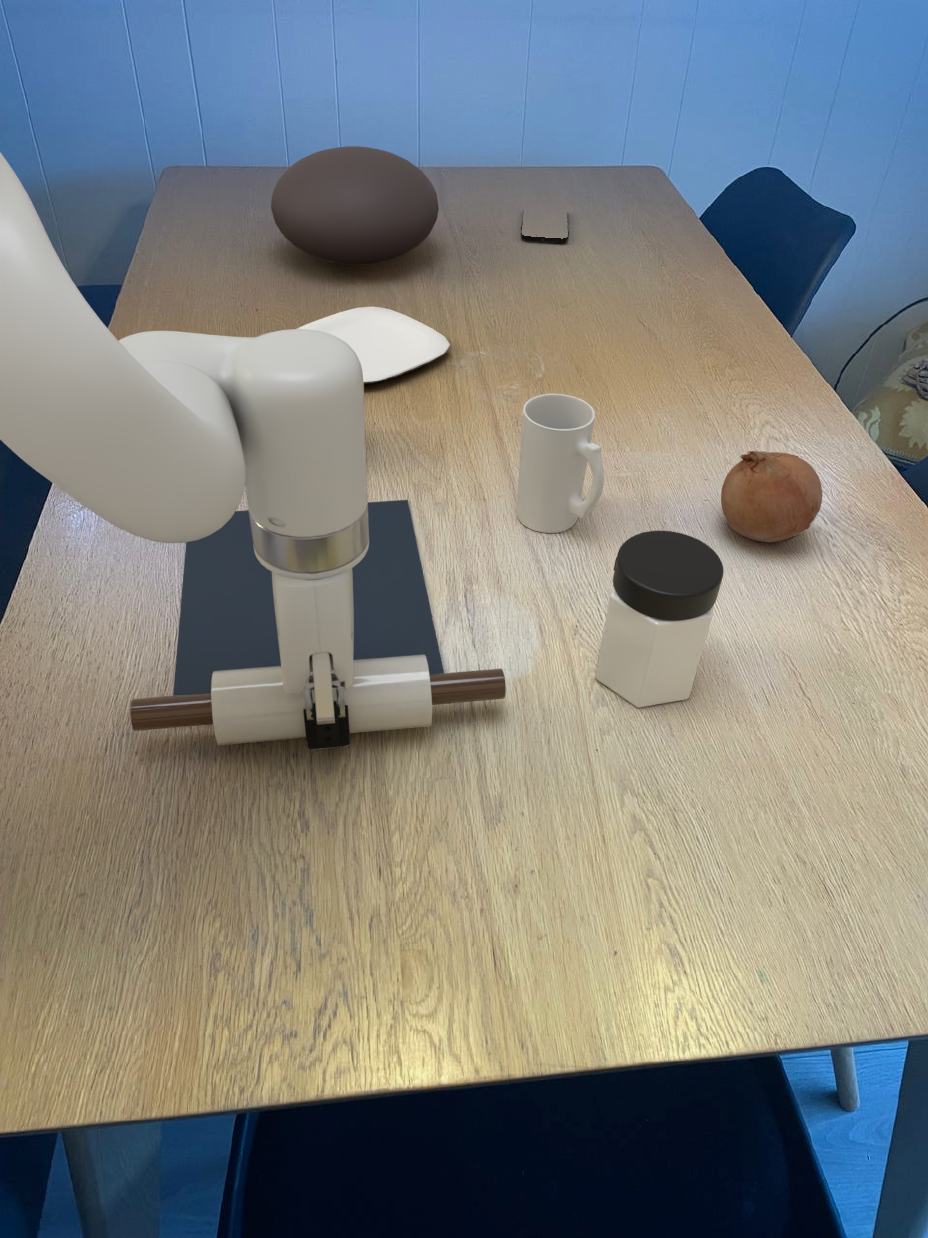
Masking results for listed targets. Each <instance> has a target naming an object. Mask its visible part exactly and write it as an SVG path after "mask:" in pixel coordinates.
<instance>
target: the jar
mask: <svg viewBox="0 0 928 1238" xmlns="http://www.w3.org/2000/svg"><path fill="white" fill-rule="evenodd" d="M724 572H725V571H724V564H723V562H722V559H721V558H720V556H719V555H718V553H717V552H716V551H715V550H714V549H713V548H712V547H710V546H709V545H708V544H706V543H705V542H704V541H702V540H700V539H698V538H696V537H694V536H691V535H688V534H685V533H681V532H678V531H671V530H649V531H643V532H640V533H637V534H635V535H633V536H631V537H629V538H628V539H626V540H625V541H624V542H623V543H622V544H621V545H620V546H619V549H618V551H617V555H616V557H615V560H614V566H613V576H612V586H611V587H612V588H611V591H610V595H609V599H608V605H607V609H606V610H607V611H606V616H605V622H604V627H603V631H602V632H603V633H602V637H601V643H600V648H599V654H598V660H597V663H596V664H597V665H596V670H595V675H594V676H595V677H594V678H595V679H596V680H597V681H598V682H600V683H601V684H603V685H604V686H605V687H607V688H608V689H609V690H611V691H613V692H614V693H616V694H617V695H619V696H620V697H621V698H623V699H624V700H626V701H627V702H628V703H630V704H631V705H633V706H634V707H636V708H644V707H650V706H655V705H661V704H668V703H672V702H673V703H674V702H679V701H685V700H688V699H689V698H690V695H691V693H692V688H693V685H694V681H695V678H696V674H697V671H698V668H699V665H700V661H701V658H702V655H703V651H704V647H705V643H706V641H707V638H708V637H707V636H708V634H709V629H710V627H711V622H712V619H713V615H714V606H715V604H716V602H717V600H718V596H719V592H720V588H721V586H722V582H723V578H724Z"/></svg>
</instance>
